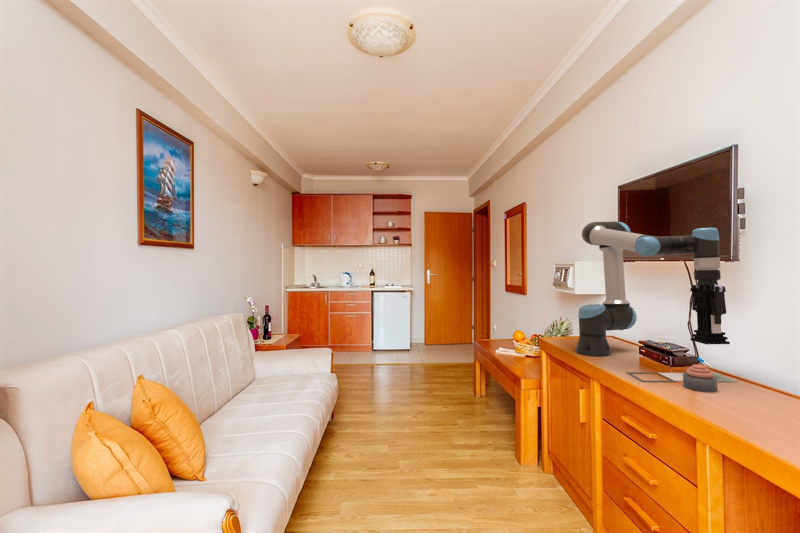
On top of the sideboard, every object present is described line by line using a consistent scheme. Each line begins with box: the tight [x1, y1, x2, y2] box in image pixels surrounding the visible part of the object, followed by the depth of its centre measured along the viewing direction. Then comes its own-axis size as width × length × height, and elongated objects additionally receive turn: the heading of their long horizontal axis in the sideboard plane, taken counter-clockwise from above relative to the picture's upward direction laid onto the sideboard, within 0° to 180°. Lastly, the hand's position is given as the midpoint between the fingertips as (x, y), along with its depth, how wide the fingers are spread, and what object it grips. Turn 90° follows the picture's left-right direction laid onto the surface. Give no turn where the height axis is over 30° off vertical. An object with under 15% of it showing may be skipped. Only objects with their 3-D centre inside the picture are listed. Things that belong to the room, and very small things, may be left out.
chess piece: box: [689, 287, 731, 345], centre depth 136 cm, size 8×8×20 cm
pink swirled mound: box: [685, 364, 714, 378], centre depth 125 cm, size 7×7×3 cm
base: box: [682, 372, 718, 393], centre depth 125 cm, size 9×9×4 cm
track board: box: [625, 371, 737, 383], centre depth 137 cm, size 12×32×1 cm, turn 83°
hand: (709, 331), depth 136 cm, fingers closed on chess piece, 6 cm apart
